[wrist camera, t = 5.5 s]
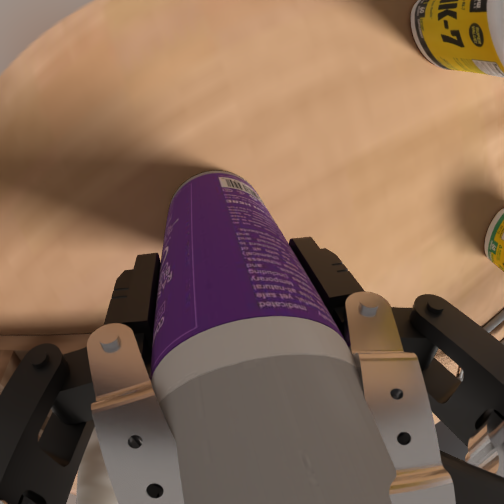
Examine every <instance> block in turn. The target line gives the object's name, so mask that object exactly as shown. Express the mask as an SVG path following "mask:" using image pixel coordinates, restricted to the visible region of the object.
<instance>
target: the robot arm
mask: <svg viewBox="0 0 504 504" xmlns="http://www.w3.org/2000/svg"><path fill="white" fill-rule="evenodd" d="M289 246H290V247H291V249H292V251H293V252H294V254H295V256H296V257H297V259H298V261H299V262H300V264H301V266H302V267H303V269H304V271H305V272H306V274H307V276H308V277H309V279H310V281H311V282H312V284H313V286H314V287H315V289H316V291H317V293H318V294H319V296H320V298H321V299H322V301H323V303H324V305H325V306H326V308H327V310H328V311H329V313H330V315H331V317H332V318H333V320H334V322H335V324H336V325H337V327H338V329H339V331H340V332H341V334H342V336H343V338H344V339H345V341H346V343H347V345H348V348H349V350H350V352H351V354H352V356H353V359H354V362H355V364H356V367H357V371H358V374H359V378H360V381H361V385H362V389H363V393H364V398H365V401H366V403H367V405H368V407H369V409H370V412H371V414H372V416H373V418H374V421H375V423H376V425H377V427H378V430H379V432H380V434H381V436H382V439H383V441H384V443H385V446H386V448H387V450H388V453H389V455H390V457H391V460H392V462H393V464H394V467H395V469H396V478H395V479H394V481H393V482H392V484H391V486H390V489H389V496H390V500H391V502H392V504H504V345H503V344H502V343H501V342H499V341H498V340H497V339H496V338H494V337H493V336H492V335H491V334H489V333H488V332H487V331H486V330H484V329H483V328H482V327H480V326H479V325H478V324H477V323H475V322H474V321H473V320H471V319H470V318H469V317H467V316H466V315H465V314H463V313H462V312H461V311H459V310H458V309H457V308H455V307H454V306H453V305H451V304H450V303H449V302H447V301H446V300H444V299H443V298H441V297H439V296H436V295H431V294H425V295H421V296H419V297H417V298H416V300H415V302H414V305H413V308H395V307H391V306H390V304H389V303H388V301H387V300H386V299H385V298H383V297H382V296H380V295H378V294H375V293H372V292H365V291H364V290H363V288H362V287H361V286H360V285H359V283H358V282H357V281H356V279H355V278H354V277H353V275H352V274H351V273H350V272H349V271H348V269H347V268H346V267H345V265H344V264H342V262H341V260H340V259H339V258H338V256H337V255H336V254H334V253H332V252H331V251H329V250H327V249H326V248H324V249H320V248H319V247H318V245H317V244H316V243H315V241H314V240H313V239H312V238H311V237H303V238H293V239H290V241H289ZM160 265H161V263H160V258H159V255H158V253H151V254H143V255H137V258H136V262H135V265H134V269H133V270H125V271H124V272H123V273H122V274H121V275H120V276H119V277H118V278H117V280H116V283H115V287H114V291H113V294H112V299H111V301H110V304H109V308H108V311H107V315H106V319H105V323H104V326H102V327H100V328H98V329H97V330H95V331H94V332H93V333H92V334H91V335H90V337H89V339H88V341H87V347H85V348H82V349H79V350H76V351H73V352H70V353H66V354H62V352H61V351H60V349H59V348H58V347H57V346H56V345H54V344H50V343H44V344H40V345H37V346H35V347H34V348H32V349H31V350H29V351H28V352H27V354H26V355H25V356H24V358H23V359H22V361H21V362H20V364H19V365H18V367H17V368H16V370H15V371H14V373H13V375H12V376H11V378H10V379H9V381H8V383H7V384H6V386H5V387H4V389H3V391H2V392H1V394H0V504H66V502H67V499H68V496H69V493H70V491H71V488H72V485H73V482H74V479H75V476H76V474H77V471H78V468H79V466H80V463H81V460H82V458H83V455H84V452H85V450H86V447H87V445H88V442H89V440H90V437H91V435H92V432H93V430H94V427H95V429H96V433H97V437H98V441H99V445H100V448H101V452H102V456H103V459H104V462H105V466H106V469H107V472H108V475H109V478H110V481H111V484H112V487H113V490H114V493H115V496H116V498H117V501H118V504H184V498H183V491H182V485H181V478H180V470H179V463H178V455H177V446H176V441H175V439H174V437H173V435H172V433H171V430H170V428H169V426H168V423H167V421H166V419H165V416H164V414H163V411H162V409H161V407H160V404H159V401H158V399H157V396H156V394H155V391H154V388H153V385H152V382H151V379H150V377H151V359H152V344H153V331H154V319H155V309H156V299H157V290H158V281H159V273H160ZM438 348H439V349H440V350H442V351H443V352H444V353H445V354H446V355H447V356H449V357H450V358H451V359H452V360H453V361H454V362H456V363H457V364H458V365H459V366H460V367H461V368H462V370H463V373H464V378H463V381H460V380H459V379H457V378H456V377H455V376H454V375H453V374H452V373H451V372H450V371H449V370H447V369H446V368H445V367H444V366H443V365H442V364H441V363H439V362H438V361H437V360H436V359H435V358H434V356H435V354H436V352H437V350H438ZM50 409H51V410H52V411H53V412H52V414H51V416H50V418H49V420H48V422H47V424H46V427H45V429H44V431H43V433H42V435H41V437H40V439H39V441H38V435H39V432H40V430H41V428H42V426H43V424H44V422H45V419H46V417H47V415H48V413H49V411H50ZM432 412H433V413H434V414H435V415H436V416H437V417H438V418H439V419H440V420H441V421H442V422H443V423H444V424H445V425H446V426H447V427H448V428H449V429H450V430H451V431H452V432H453V433H454V434H455V435H456V436H457V437H458V438H459V439H460V440H461V441H462V442H463V443H464V444H465V445H466V446H467V447H468V451H469V452H468V454H467V455H466V458H465V460H466V462H465V461H463V460H460V459H458V458H456V457H453V456H451V455H449V454H447V453H445V452H442V451H440V450H439V445H438V440H437V435H436V430H435V425H434V420H433V415H432ZM163 490H164V492H163V495H162V496H161V497H159V493H160V492H162V491H163Z"/></svg>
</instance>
